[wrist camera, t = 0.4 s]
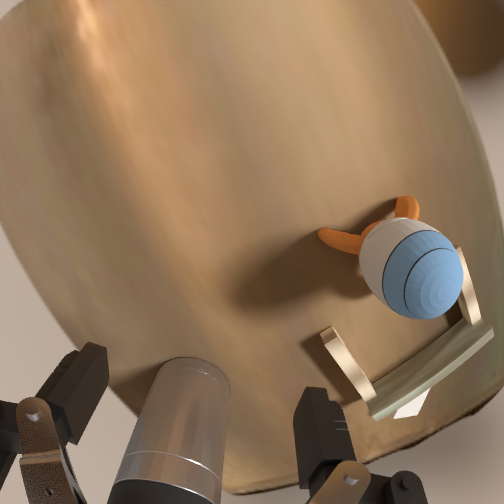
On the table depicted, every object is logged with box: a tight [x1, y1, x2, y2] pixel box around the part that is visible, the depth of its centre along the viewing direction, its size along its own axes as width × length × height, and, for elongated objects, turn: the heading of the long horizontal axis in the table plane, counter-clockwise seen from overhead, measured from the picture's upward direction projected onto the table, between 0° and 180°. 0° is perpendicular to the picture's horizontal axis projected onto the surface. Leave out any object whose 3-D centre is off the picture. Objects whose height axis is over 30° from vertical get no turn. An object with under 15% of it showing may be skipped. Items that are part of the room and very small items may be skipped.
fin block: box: [391, 388, 430, 419], centre depth 34 cm, size 5×4×3 cm
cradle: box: [320, 242, 494, 422], centre depth 30 cm, size 13×18×5 cm
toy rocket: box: [318, 196, 464, 319], centre depth 24 cm, size 10×11×15 cm
